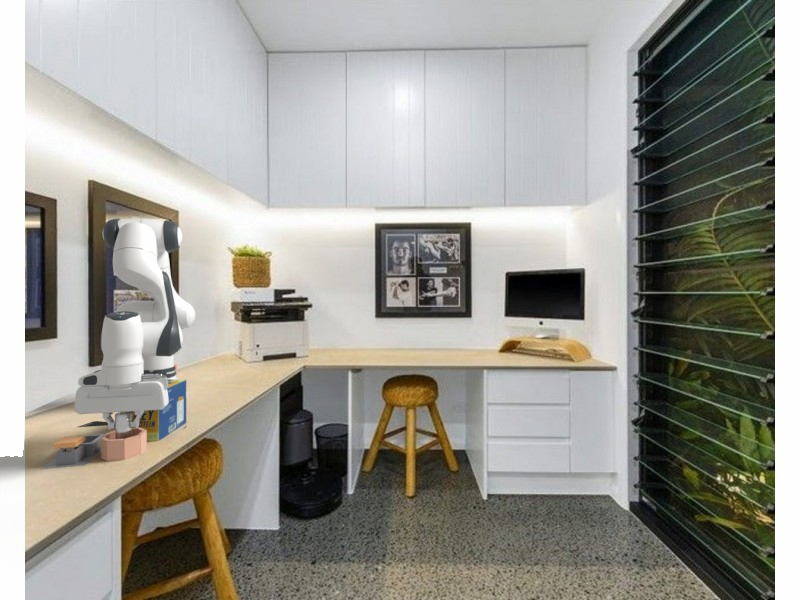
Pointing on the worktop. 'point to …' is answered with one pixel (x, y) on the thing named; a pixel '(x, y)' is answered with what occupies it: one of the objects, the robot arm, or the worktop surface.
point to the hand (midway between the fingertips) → (123, 428)
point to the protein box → (166, 413)
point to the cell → (123, 425)
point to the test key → (70, 442)
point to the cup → (123, 445)
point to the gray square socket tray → (78, 453)
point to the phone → (95, 424)
